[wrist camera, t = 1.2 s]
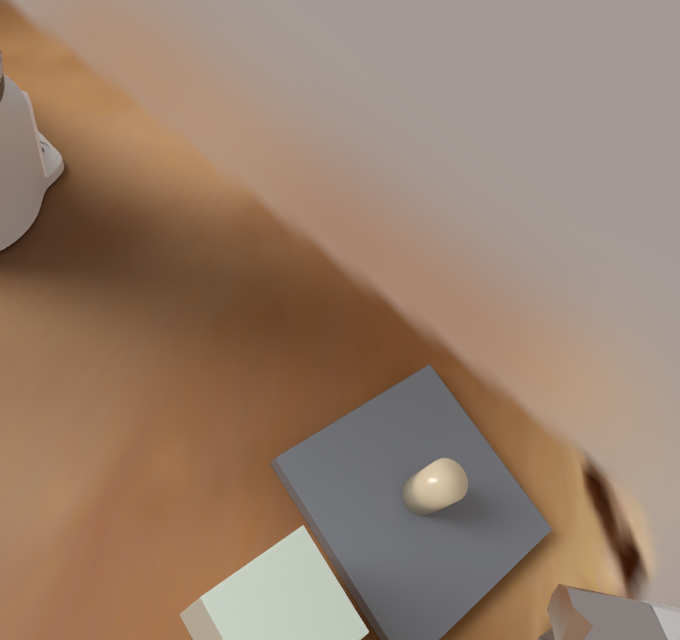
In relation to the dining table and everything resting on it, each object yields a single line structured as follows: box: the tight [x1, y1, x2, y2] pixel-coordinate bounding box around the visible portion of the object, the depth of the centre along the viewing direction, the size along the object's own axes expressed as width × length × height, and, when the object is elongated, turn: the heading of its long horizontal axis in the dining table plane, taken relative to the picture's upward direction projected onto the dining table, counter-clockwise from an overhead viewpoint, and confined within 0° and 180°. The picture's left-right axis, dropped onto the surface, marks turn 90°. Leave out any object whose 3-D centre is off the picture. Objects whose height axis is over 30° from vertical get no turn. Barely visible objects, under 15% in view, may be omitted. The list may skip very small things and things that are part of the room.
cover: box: [179, 526, 369, 640], centre depth 32 cm, size 6×6×11 cm
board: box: [271, 364, 552, 640], centre depth 42 cm, size 16×16×6 cm
